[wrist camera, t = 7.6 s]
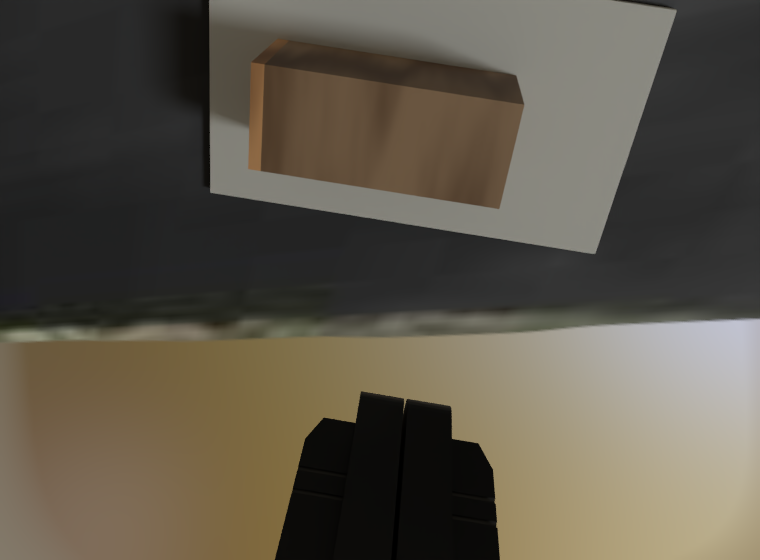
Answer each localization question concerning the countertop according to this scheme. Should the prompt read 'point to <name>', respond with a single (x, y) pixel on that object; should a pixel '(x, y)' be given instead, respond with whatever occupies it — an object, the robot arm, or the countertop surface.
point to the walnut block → (383, 122)
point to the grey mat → (476, 51)
